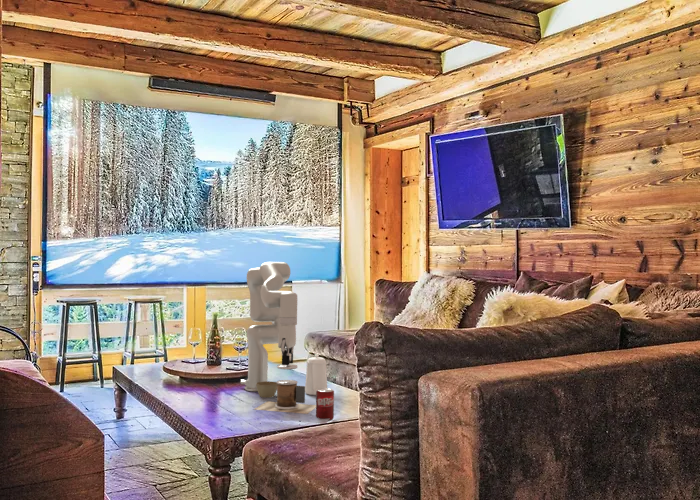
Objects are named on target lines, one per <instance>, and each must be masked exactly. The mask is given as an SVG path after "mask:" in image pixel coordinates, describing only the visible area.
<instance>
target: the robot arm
mask: <svg viewBox="0 0 700 500" xmlns="http://www.w3.org/2000/svg"><path fill="white" fill-rule="evenodd" d="M290 276H291V267H290V265H289V264H288V263H287V262H285V261H266V262H262V264H261V265H260V266H259V267H253V268H250V269H248V271H247V273H246V284H247V287H248V291H249V315H250V316H249V317H250V320H251V321H253V322H255V323H269V322H271V324H254V325H253V324H252V325H250V326H249V327H248V328H247V329H246V330H247V331H246V337H247V339H246V340H247V347H248V348H247V349H248V355H247V357H248V360H247V361H248V362H247V364H248V365H247V379H240V384H241V385H245V386H244V390H245V391H248V392H258V390H257V386H256V383H258V382H265V381H268V362H269V353H268V350H267V349H266V347H264V345H273V344H277V345H278V346H277V347H278V348H279V349H280V350H281V364H282V365H289V364H293V363H294V348H295V346H296V345H297V331H296V329H297V325H298V294H297V293H296V292H293V291H292V290H281V289H282V288H283V286H284V283H285V282H287V281H288V280H289V278H290ZM289 353H291V361H289V357H290V356H289Z"/></svg>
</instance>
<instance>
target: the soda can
mask: <svg viewBox="0 0 700 500" xmlns="http://www.w3.org/2000/svg"><path fill="white" fill-rule="evenodd" d="M315 405H316V408H315V418H317V419H321V420H327V419H328V420H327V422H331V421H333V420H334V418H335V417H334V415H335V414H334V413H335V391H334V389H333V388H328V387H327V388H322V389H318V390H317V391H316V395H315Z"/></svg>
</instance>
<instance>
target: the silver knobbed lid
mask: <svg viewBox="0 0 700 500" xmlns="http://www.w3.org/2000/svg"><path fill="white" fill-rule="evenodd" d="M289 356H290V357H289V361H291V353H289ZM276 368H277V369H279V370H295V369H298V365H297V364H293V363H289V365H282V363H281V364H278V365H277V366H276Z"/></svg>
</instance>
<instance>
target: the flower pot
mask: <svg viewBox="0 0 700 500" xmlns="http://www.w3.org/2000/svg"><path fill="white" fill-rule="evenodd" d="M256 386H257V390H258V391H257V393H258V395H259V398H265V399H267V398H273V397H275V395H276V394H277V381H268V380H267V381H265V382H258V383H256Z"/></svg>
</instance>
